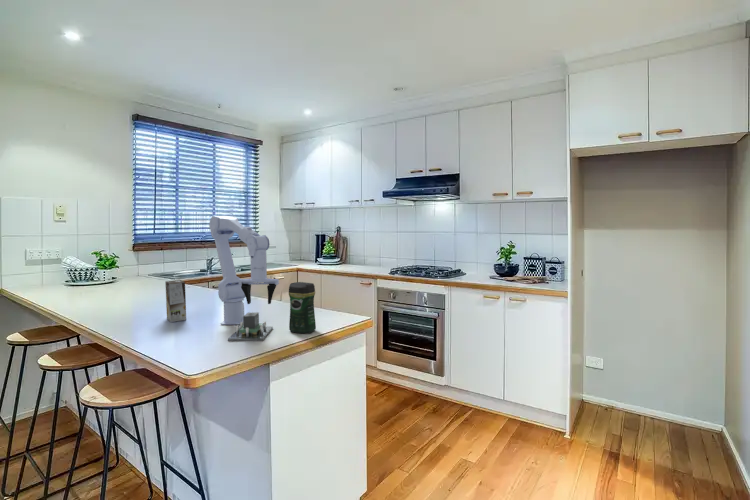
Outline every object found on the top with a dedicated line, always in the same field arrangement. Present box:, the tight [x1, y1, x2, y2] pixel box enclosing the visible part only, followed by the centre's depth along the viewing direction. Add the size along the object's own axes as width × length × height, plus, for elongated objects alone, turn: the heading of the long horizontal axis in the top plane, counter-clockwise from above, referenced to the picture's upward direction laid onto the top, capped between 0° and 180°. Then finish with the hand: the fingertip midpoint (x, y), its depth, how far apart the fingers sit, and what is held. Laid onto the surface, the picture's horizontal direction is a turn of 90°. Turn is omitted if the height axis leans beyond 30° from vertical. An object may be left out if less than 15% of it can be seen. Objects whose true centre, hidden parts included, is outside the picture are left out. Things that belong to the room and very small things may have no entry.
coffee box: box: [165, 279, 187, 323], centre depth 171 cm, size 9×6×16 cm
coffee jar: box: [288, 281, 317, 334], centre depth 152 cm, size 10×8×19 cm
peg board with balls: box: [227, 321, 274, 342], centre depth 148 cm, size 16×12×4 cm
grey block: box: [240, 312, 263, 333], centre depth 147 cm, size 9×6×6 cm, turn 2°
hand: (259, 303), depth 153 cm, fingers open, 7 cm apart
